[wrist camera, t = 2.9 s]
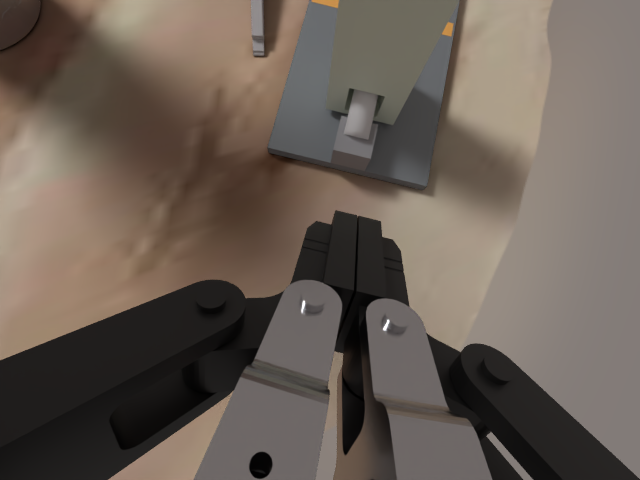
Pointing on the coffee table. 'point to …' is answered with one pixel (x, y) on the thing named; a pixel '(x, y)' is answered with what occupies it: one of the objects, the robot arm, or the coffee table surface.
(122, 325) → the robot arm
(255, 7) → the caliper
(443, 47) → the pipe rig
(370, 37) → the sage green block
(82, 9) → the coffee table surface
